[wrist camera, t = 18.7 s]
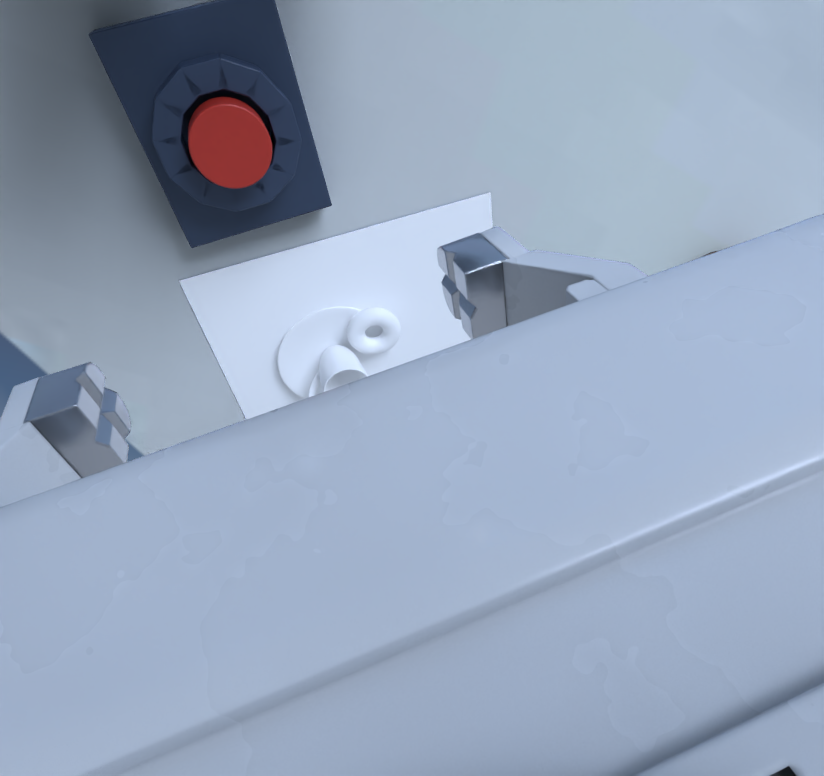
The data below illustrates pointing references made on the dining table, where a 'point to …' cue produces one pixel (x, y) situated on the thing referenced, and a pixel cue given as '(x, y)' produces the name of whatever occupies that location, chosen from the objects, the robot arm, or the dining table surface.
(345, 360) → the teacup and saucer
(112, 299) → the dining table surface
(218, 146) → the button
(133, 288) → the dining table surface
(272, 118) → the button housing
